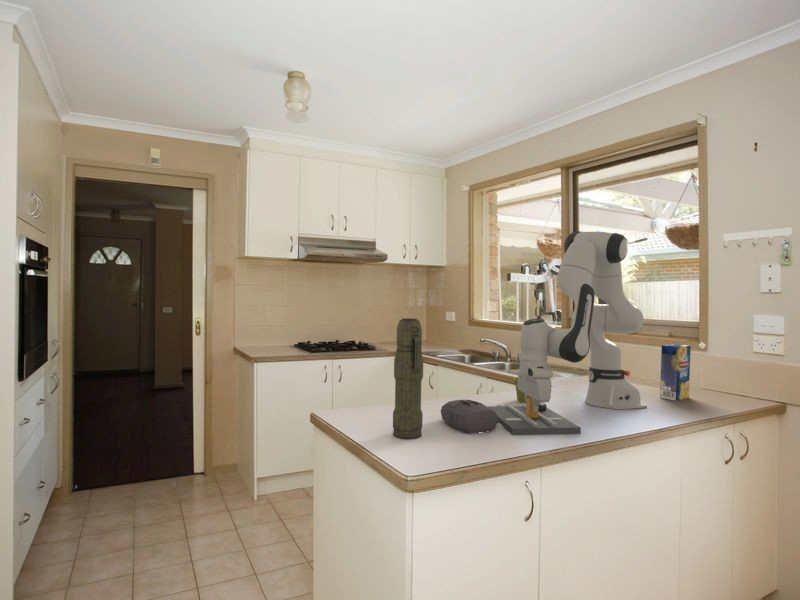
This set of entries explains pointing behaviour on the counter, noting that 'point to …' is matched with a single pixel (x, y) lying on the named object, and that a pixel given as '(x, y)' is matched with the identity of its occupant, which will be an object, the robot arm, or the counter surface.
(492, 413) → the small grey backpack
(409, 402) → the thermos
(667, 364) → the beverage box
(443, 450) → the counter surface
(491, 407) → the console board
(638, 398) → the robot arm
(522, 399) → the plant pot
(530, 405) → the fader knob
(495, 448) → the counter surface
